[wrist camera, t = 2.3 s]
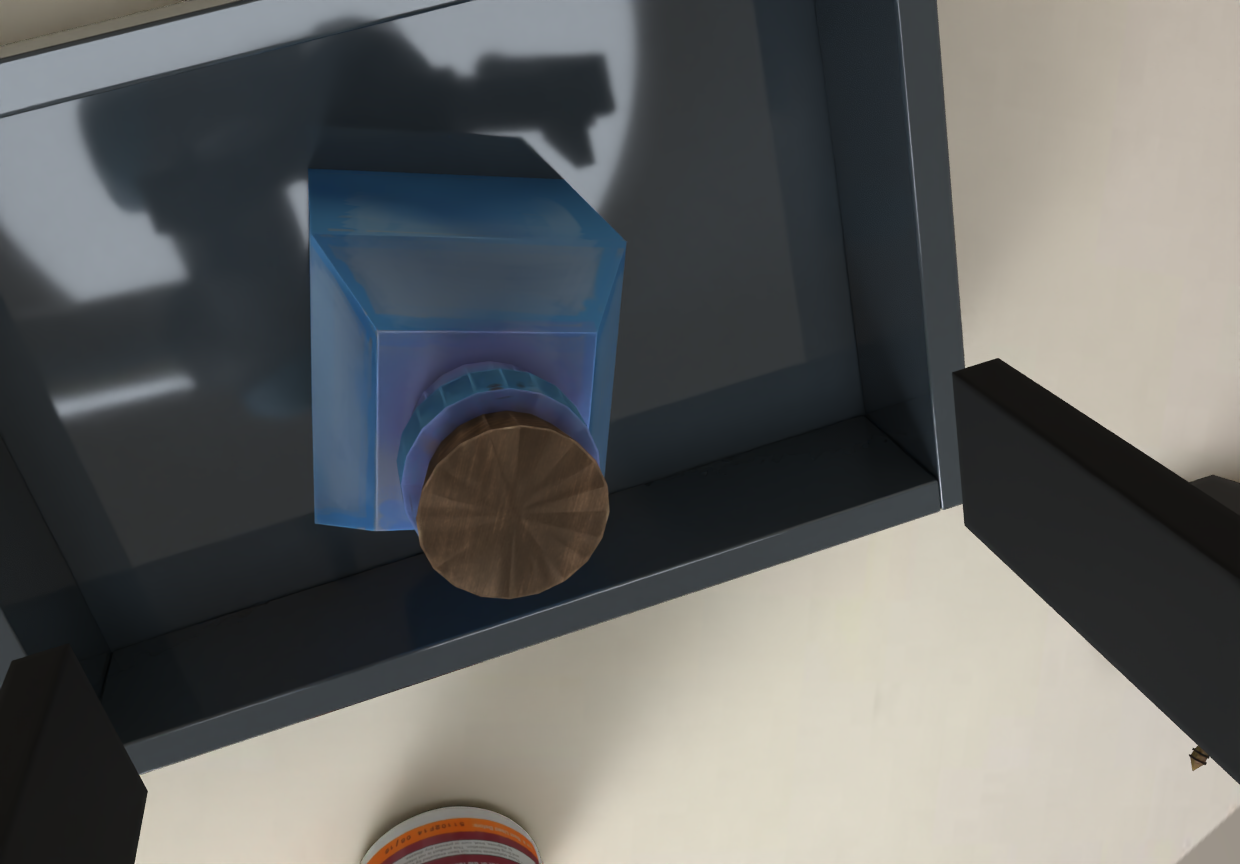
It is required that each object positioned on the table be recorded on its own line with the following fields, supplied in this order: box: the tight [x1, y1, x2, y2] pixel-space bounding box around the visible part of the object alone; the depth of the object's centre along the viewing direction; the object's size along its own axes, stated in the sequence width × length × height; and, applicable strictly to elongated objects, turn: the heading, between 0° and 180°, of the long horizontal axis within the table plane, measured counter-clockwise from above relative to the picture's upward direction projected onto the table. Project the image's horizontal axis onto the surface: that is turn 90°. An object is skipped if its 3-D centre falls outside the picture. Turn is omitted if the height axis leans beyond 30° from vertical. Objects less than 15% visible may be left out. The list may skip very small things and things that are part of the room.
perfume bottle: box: [308, 169, 626, 599], centre depth 24 cm, size 6×6×12 cm
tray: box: [0, 0, 965, 775], centre depth 27 cm, size 24×16×5 cm, turn 102°
